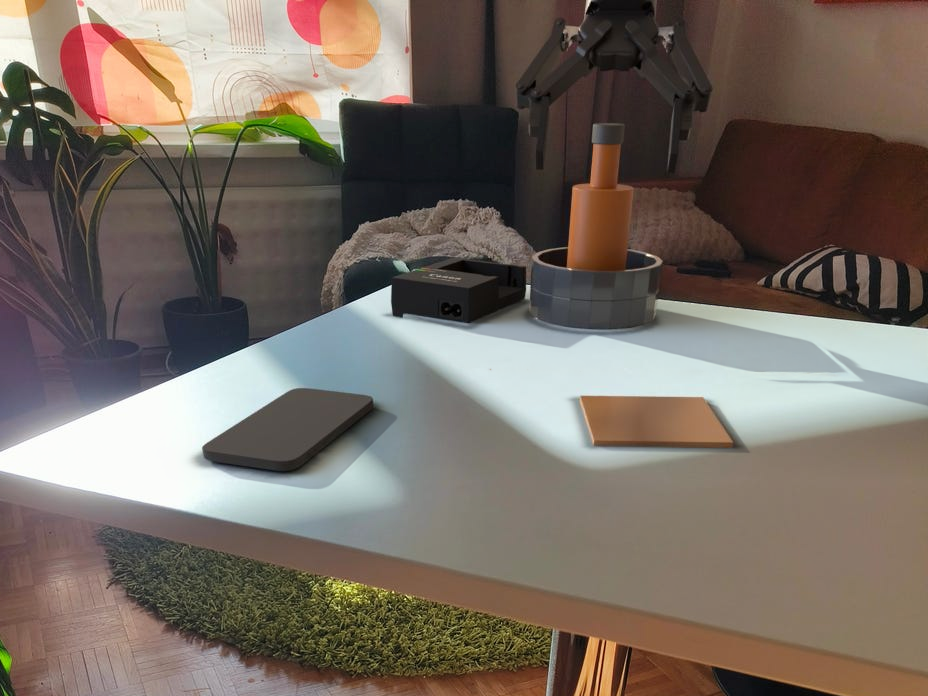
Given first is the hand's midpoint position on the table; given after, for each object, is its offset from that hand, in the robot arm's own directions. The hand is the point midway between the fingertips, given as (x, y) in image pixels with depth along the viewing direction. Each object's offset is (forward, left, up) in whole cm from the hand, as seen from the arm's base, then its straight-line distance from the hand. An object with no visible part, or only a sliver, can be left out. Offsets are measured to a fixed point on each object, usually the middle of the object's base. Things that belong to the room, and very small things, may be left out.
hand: (605, 162), depth 92 cm
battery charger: (+15, +3, -14) cm, 21 cm away
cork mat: (0, +38, -14) cm, 40 cm away
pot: (+1, +6, -14) cm, 15 cm away
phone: (+27, +41, -14) cm, 51 cm away
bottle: (+1, +6, -14) cm, 15 cm away
